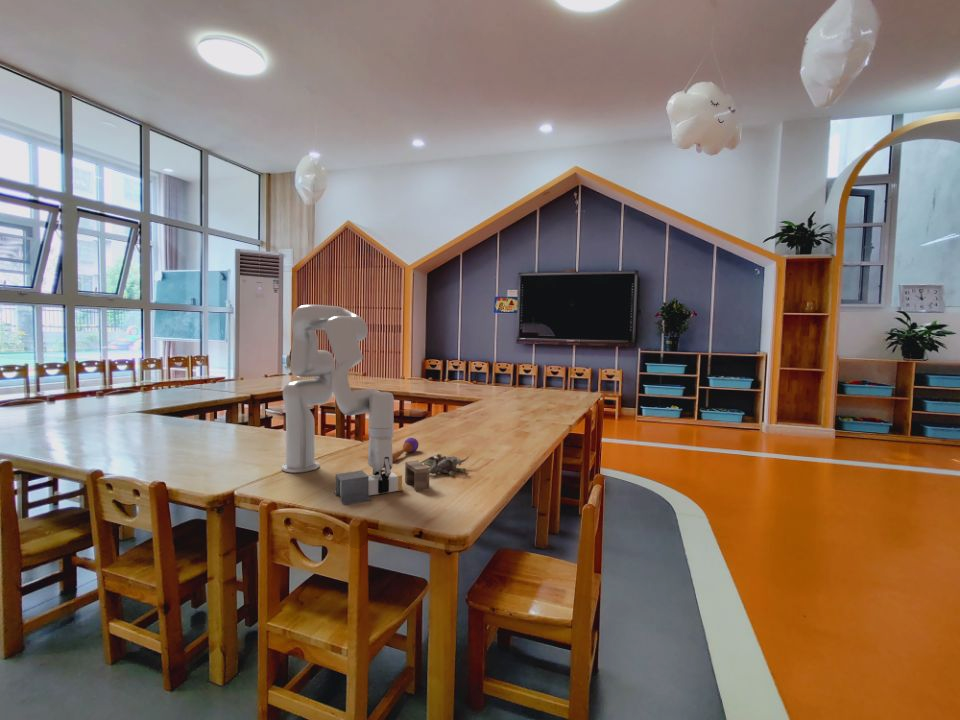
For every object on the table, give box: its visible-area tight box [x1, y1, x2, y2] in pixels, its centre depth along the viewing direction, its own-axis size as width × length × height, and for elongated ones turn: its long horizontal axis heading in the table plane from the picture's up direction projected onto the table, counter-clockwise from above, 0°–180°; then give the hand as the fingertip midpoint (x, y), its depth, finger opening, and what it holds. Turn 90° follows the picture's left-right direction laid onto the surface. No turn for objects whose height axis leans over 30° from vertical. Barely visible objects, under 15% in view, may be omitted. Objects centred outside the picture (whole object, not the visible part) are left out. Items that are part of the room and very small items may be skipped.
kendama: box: [392, 437, 419, 464], centre depth 190 cm, size 6×6×20 cm
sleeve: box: [333, 470, 372, 506], centre depth 143 cm, size 11×8×7 cm
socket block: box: [404, 460, 430, 492], centre depth 154 cm, size 9×4×7 cm, turn 31°
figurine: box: [420, 453, 470, 477], centre depth 171 cm, size 20×6×17 cm
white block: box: [340, 471, 403, 497], centre depth 146 cm, size 5×18×5 cm, turn 121°
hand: (380, 489), depth 148 cm, fingers closed on white block, 4 cm apart
